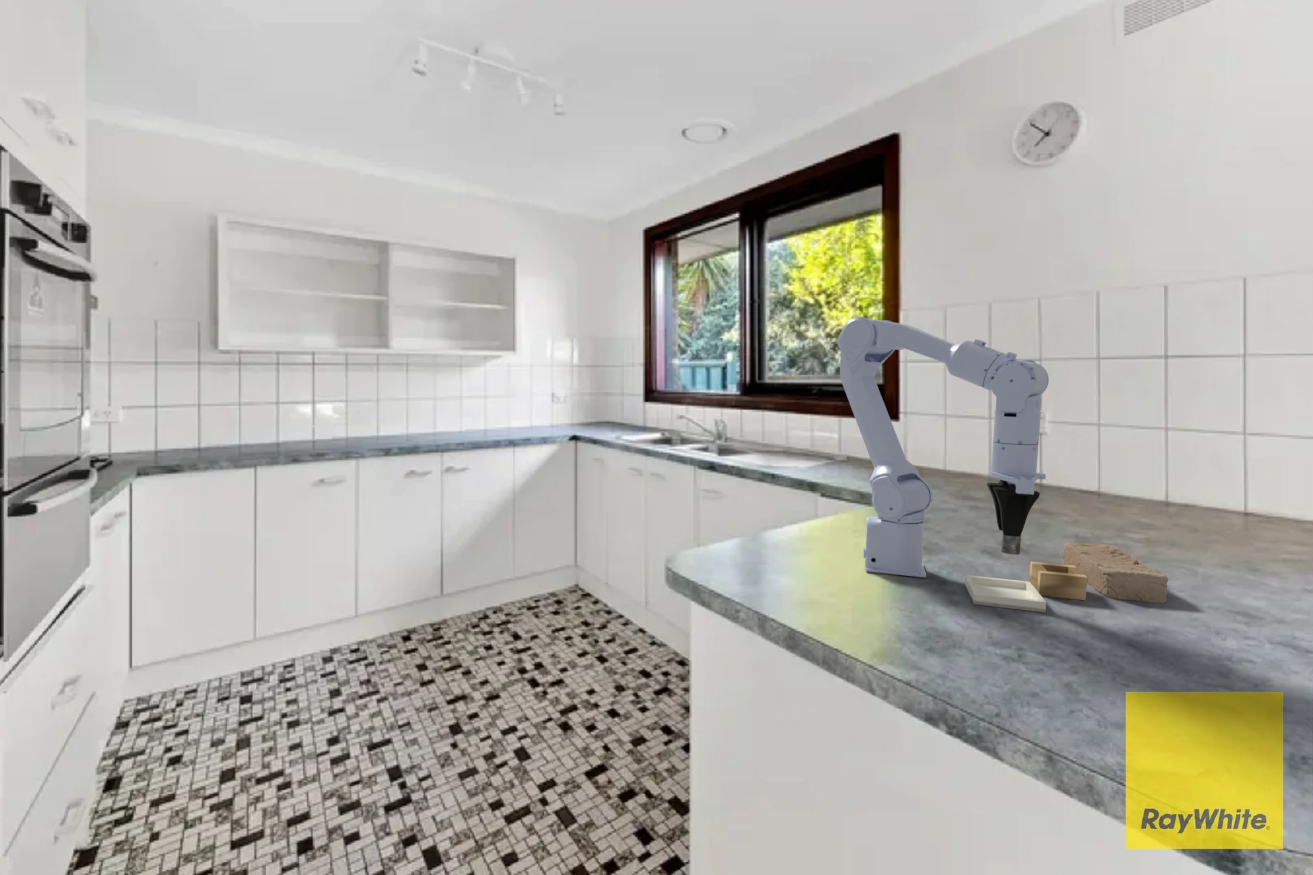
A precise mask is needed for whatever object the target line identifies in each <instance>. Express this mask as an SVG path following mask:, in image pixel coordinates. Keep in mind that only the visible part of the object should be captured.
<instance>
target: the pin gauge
mask: <svg viewBox="0 0 1313 875" xmlns="http://www.w3.org/2000/svg"><path fill="white" fill-rule="evenodd" d="M1021 546H1022V534H1021V535H1020V537H1017V536H1005V535H1004V534H1003V533H1002V535H1001V553H1003V554H1007V555H1015V556H1016V555H1018V556H1019V555H1021Z"/></svg>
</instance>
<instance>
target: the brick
mask: <svg viewBox="0 0 1313 875" xmlns="http://www.w3.org/2000/svg"><path fill="white" fill-rule="evenodd" d="M1062 547H1063V548H1062V549H1063V552H1062V560H1061V561H1062V564H1064V565H1074V566H1075V567H1076V568H1077V569H1079V570H1080V571H1081V572H1082V573H1083V574H1084V575H1085V576H1086V577H1087V585H1089V586H1090V587H1092V588H1093V590H1096V591H1097V592H1099V593H1101V594H1102V595H1103V596H1105V597H1107V598H1110V599H1118V600H1131V601H1132V600H1133V601H1134V600H1135V601H1141V602H1151V603H1162V604H1164V603H1167V597H1166V596H1168V592H1169V589H1168V582H1169V578H1168V576H1166V575H1165V574H1164V573H1161V572H1160V570H1157V569H1155V568H1152V567H1151V566H1149V565H1146V564H1143V563H1141V562H1140V561H1138V559H1137V558H1136V557H1132V556H1131V554H1129V553H1128V552H1127V551H1126V550H1124V549H1122V547H1119V546H1116V545H1112V544H1108V543H1107V544H1106V543H1105V544H1104V543H1079V542H1076V543H1071V542H1070V543H1069V542H1065V543H1064V544H1063V546H1062Z"/></svg>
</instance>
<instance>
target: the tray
mask: <svg viewBox="0 0 1313 875" xmlns="http://www.w3.org/2000/svg"><path fill="white" fill-rule="evenodd" d="M963 582H964V583H963V585H964V587H965V588H966V591H967V593H968V594H969V597H970V599H971V601H972V603H973V605H977V606H978V605H979V606H987V607H993V608H994V607H995V608H1005V609H1012V610H1013V609H1014V610H1021V611H1027V612H1028V611H1029V612H1037V613H1038V612H1039V613H1046V611H1047V610H1046V609H1047V601H1046V600H1045V599H1044V598H1043V597H1042V595H1040V594H1039V593H1038V591H1037V590H1036V589H1035V588H1034V587H1033V585H1032V584H1031V583H1030V582H1029V580H1028V581H1027V580H1016V579H1006V578H997V577H988V576H987V577H986V576H979V575H978V576H977V575H968V574H965V575H964V581H963Z"/></svg>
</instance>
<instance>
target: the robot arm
mask: <svg viewBox="0 0 1313 875" xmlns="http://www.w3.org/2000/svg"><path fill="white" fill-rule="evenodd" d="M836 343H837V345H838V348H839V350H840V357H839V359H840V362H839V364H840V366H839V377H840V382H841V384H842V386H843V390H844V392H845V394H846V397H847V400H848V402H849V403H848V404H849V406H850V408H851V411H852V413H853V416H854V419H855V421H856V424H857V427H858V429H859V432H860V435H861V437H862V439H863V443H864V446H865V448H866V450H867V453H868V456H869V458H870V461H871V464H872V466H873V472H872V474H871V476H870V478H869V484H870V486H871V491H872V492H871V493H872V494H871V503H872V506H873V510H874V511H875V512H876V514H877V515H878V516H867V517H866V533H865V534H866V535H865V536H866V537H865V546H864V547H863V558H864V559H865V562H864V563H865V564H864V565H865V566H864V567H865V569H864V570H865V572H869V573H876V574H879V573H880V574H886V575H887V574H888V575H898V576H906V577H907V576H908V577H915V578H916V577H917V578H927V572H926V570H925V566H924V562H923V550H924V535H925V534H924V532H925V530H924V529H925V511H926V510H927V509H929V507H930V506H931V504H932V502H933V492H932V488H931V486H930V485H929V484H928V483H927V482H926V481H925V480H924V478H922V476H921V475H920V473H919V470H918V468H917V467H916V466H914V464H912V463H911V462H910V461H909V460H908V459H906V455H905V454H904V451H903V448H902V445H901V443H900V440H899V438H898V436H897V435H898V434H897V433H896V431H895V428H894V425H893V423H892V420H891V417H890V415H889V413H888V412H889V411H888V410H887V407H886V404H885V401H884V400H883V396H882V395H881V391H880V390H879V387H878V384H877V382H876V379H875V377H876V374H877V372H878V370H879V368H880V366H882V364H883V363H885V361H886V360H887V359H888V358H889V357H890V356H891V355H892V354H893V353H894V352H895V350H897V351H901V350H908V351H910V352H914V353H916V354H919V355H922V356H924V357H927V358H930V359H933V360H936V361H939V362H941V363H944V364H945V366H946V369H947V371H948V373H949V374H950V375H952V376H953V377H956V378H959V379H961V380H964V381H966V382H968V383H972V384H974V385H976V386H978V387H981V388H982V389H984V390H988V391H991V392H992V394H993V395H994V396H995V411H994V422H993V423H994V426H993V438H992V439H993V440H992V441H993V442H992V455H991V468H990V470H989V474H988V475H989V477H990V478H994V479H998V480H999V481H998V482H987V483H986V486H987V488H988V490H989V492H990V493H991V497H992V500H993V504H994V510H995V516H996V523H997V527H998V530H999V531H1001V532H1002V534H1004V535H1005V536H1017V537H1020V535H1021V536H1022V533H1023V530H1024V527H1025V524H1026V521H1027V519H1028V515H1029V513H1030V511H1031V509H1032V507H1033V506H1034V504H1035V503H1036V502H1037V501H1038V499H1039V498H1040V494H1041V493H1040V492H1039V491H1037V490H1035V483H1036V482H1037V480H1046V478H1047V476H1046V474H1045V473H1044V472H1038V470H1037V468H1038V453H1039V443H1040V441H1039V440H1040V430H1041V429H1040V428H1041V415H1042V412H1041V407H1042V406H1041V405H1042V394H1044V392H1045V391H1046V390H1047V388H1048V385H1049V381H1050V378H1049V374H1048V372H1047V370H1046V369H1045V367H1043V365H1041V364H1039V363H1037V362H1036V361H1035V360H1032V359H1024V360H1017V357H1018V355H1017V353H1015V352H1011V351H1008V352H1006V353H1004V352H1002V351H1000V350H996V349H994V348H991V347H988V346H986V344H987V342H986V341H985V340H981V339H974V340H973V341H972V340H964V341H962V342H959V343H957V344H956V343H952V342H950V341H947V340H945V339H942V338H940V337H938V336H935V335H933V334H931V333H929V332H926V331H924V330H921V329H919V328H916V327H914V326H912V325H908V324H904V323H900V322H893V321H891V320H887V319H883V320H878V319H871V318H866V317H863V316H862V317H861V316H857V317H852V318H851V319H850V320H848V321H847V322H845V324H844V326H843V327H842V329H841V331H840V333H839V335H838V338H837V340H836Z"/></svg>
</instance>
